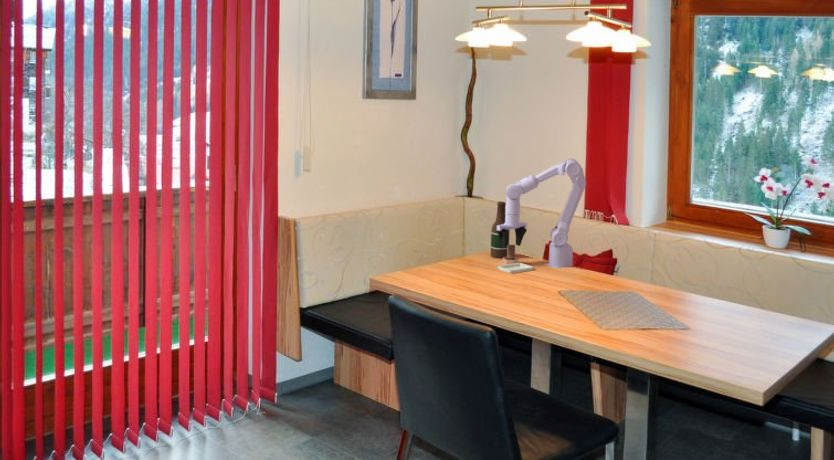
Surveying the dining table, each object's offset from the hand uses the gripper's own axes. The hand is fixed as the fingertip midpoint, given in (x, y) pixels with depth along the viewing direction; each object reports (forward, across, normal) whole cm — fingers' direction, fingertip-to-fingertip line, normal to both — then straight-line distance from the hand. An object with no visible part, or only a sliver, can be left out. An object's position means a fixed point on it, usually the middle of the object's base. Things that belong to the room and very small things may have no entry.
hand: (511, 246), depth 363 cm
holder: (+8, 0, 0) cm, 8 cm away
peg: (+7, 0, 0) cm, 7 cm away
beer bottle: (+8, -4, -12) cm, 15 cm away
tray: (+8, +5, +9) cm, 13 cm away
